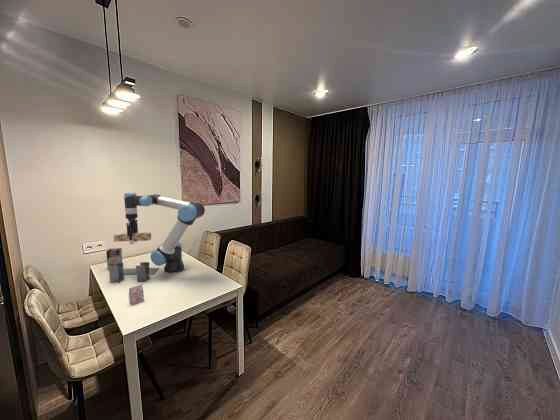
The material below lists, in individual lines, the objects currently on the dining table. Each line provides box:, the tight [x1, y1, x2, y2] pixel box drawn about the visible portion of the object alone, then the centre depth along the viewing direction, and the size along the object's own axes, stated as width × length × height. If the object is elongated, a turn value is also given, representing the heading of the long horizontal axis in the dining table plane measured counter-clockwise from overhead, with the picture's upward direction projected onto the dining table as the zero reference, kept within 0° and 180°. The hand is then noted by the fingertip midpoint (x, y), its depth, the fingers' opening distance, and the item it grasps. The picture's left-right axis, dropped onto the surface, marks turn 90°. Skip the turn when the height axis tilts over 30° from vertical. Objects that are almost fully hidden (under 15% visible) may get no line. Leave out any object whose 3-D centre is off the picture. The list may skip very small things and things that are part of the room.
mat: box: [123, 267, 160, 276], centre depth 180 cm, size 30×11×1 cm, turn 98°
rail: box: [113, 232, 152, 242], centre depth 173 cm, size 24×5×5 cm, turn 101°
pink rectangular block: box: [128, 283, 145, 306], centre depth 137 cm, size 4×7×10 cm, turn 142°
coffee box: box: [105, 247, 123, 268], centre depth 184 cm, size 9×6×16 cm
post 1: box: [107, 262, 125, 284], centre depth 163 cm, size 6×7×12 cm
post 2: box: [135, 261, 151, 283], centre depth 165 cm, size 6×7×12 cm
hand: (133, 242), depth 173 cm, fingers closed on rail, 5 cm apart
